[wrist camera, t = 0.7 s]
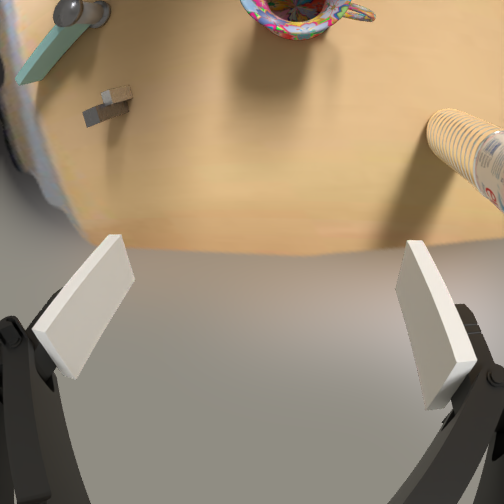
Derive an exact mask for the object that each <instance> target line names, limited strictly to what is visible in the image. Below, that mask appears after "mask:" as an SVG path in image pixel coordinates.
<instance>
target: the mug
mask: <svg viewBox="0 0 504 504" xmlns="http://www.w3.org/2000/svg"><path fill="white" fill-rule="evenodd" d="M240 1H241V3H242V5H243V7H244V9H245V10H246V11H247V12H248V14H249V15H250V16H251V17H252V18H254V19H255V20H256V21H257V22H259V23H260V24H262V25H263V26H265V27H266V28H267V29H269V30H270V31H271V32H273V33H274V34H276V35H278V36H280V37H283V38H286V39H291V40H305V39H310V38H313V37H316V36H318V35H319V34H321V33H323V32H324V31H325V30H326V29H327V28H328V27H330V26H332V25H333V24H335V23H336V22H337V21H338V20H339V19H341V18H342V17H345V18H349V19H354V20H359V21H366V22H372V21H374V20H375V18H376V15H375V13H374V12H373V11H371V10H369V9H367V8H365V7H363V6H360V5H357V4H354V3H351V0H240ZM347 9H348V10H352V11H356V12H358V13H361V14H357V13H352V12H347Z"/></svg>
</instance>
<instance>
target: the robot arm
mask: <svg viewBox="0 0 504 504" xmlns="http://www.w3.org/2000/svg"><path fill="white" fill-rule="evenodd" d="M134 281H135V277H134V274H133V271H132V268H131V265H130V262H129V259H128V255H127V252H126V249H125V245H124V242H123V239H122V235H108V236H107V237H106V238H105V239H104V240H103V241H102V243H101V244H100V245H99V246H98V247H97V248H96V249H95V251H94V252H93V253H92V254H91V255H90V256H89V257H88V259H87V260H86V261H85V262H84V263H83V264H82V266H81V267H80V268H79V269H78V270H77V272H76V273H75V274H74V275H73V276H72V278H71V279H70V280H69V281H68V282H67V284H66V285H65V287H62V288H61V289H60V290H58V291H57V292H56V293H54V294H53V295H52V297H51V298H50V299H49V300H48V302H47V304H45V306H44V307H43V308H42V310H41V311H40V312H39V313H38V315H37V316H36V317H35V319H34V320H33V321H32V323H31V324H30V325H29V327H28V328H27V329H26V331H25V330H24V328H23V327H22V325H21V323H20V321H19V320H18V318H17V317H15V316H8V317H5V318H4V319H2V320H1V321H0V504H14V490H15V494H16V498H17V504H91V503H90V501H89V498H88V495H87V492H86V490H85V487H84V484H83V481H82V478H81V475H80V472H79V469H78V466H77V463H76V459H75V456H74V452H73V449H72V445H71V441H70V438H69V434H68V430H67V426H66V422H65V418H64V413H63V409H62V404H61V399H60V394H59V388H58V383H57V378H56V375H55V373H54V370H55V368H56V367H57V368H58V369H59V371H60V372H61V373H62V375H63V376H66V377H70V378H73V379H77V377H78V375H79V374H80V372H81V370H82V368H83V366H84V365H85V363H86V361H87V359H88V357H89V356H90V354H91V352H92V350H93V348H94V347H95V345H96V343H97V341H98V340H99V338H100V336H101V335H102V333H103V331H104V330H105V328H106V326H107V325H108V323H109V321H110V320H111V318H112V316H113V315H114V313H115V311H116V310H117V308H118V306H119V305H120V303H121V302H122V300H123V298H124V297H125V295H126V294H127V292H128V290H129V289H130V287H131V286H132V284H133V283H134ZM395 290H396V293H397V296H398V300H399V303H400V306H401V310H402V313H403V317H404V320H405V324H406V327H407V331H408V335H409V339H410V342H411V346H412V350H413V354H414V358H415V363H416V366H417V371H418V376H419V380H420V385H421V389H422V394H423V399H424V404H425V410H433V409H442V408H445V406H446V405H447V404H448V402H449V401H450V400H451V402H452V406H453V409H452V411H451V412H450V413H449V414H448V415H447V417H446V418H445V419H444V420H443V421H442V423H443V425H442V427H441V429H440V430H439V432H438V434H437V435H436V437H435V438H434V440H433V442H432V443H431V445H430V446H429V448H428V449H427V451H426V453H425V454H424V455H423V457H422V459H421V460H420V461H419V463H418V465H417V466H416V467H415V469H414V470H413V472H412V473H411V474H410V476H409V477H408V478H407V480H406V481H405V482H404V484H403V485H402V486H401V487H400V489H399V490H398V492H397V493H396V494H395V495H394V497H393V498H392V499H391V500H390V501H389V503H388V504H457V503H458V501H459V500H460V498H461V496H462V494H463V493H464V491H465V489H466V488H467V486H468V484H469V482H470V480H471V479H472V477H473V475H474V473H475V471H476V469H477V467H478V465H479V463H480V461H481V459H482V457H483V455H484V453H485V451H486V449H487V447H488V444H489V447H488V451H487V455H486V460H485V464H484V468H483V472H482V475H481V479H480V483H479V486H478V490H477V493H476V496H475V499H474V502H473V504H504V368H503V367H502V366H500V365H498V364H495V363H494V361H493V358H492V356H491V353H490V351H489V348H488V346H487V344H486V341H485V339H484V337H483V334H481V330H480V327H479V325H477V321H476V319H475V317H474V314H473V313H472V312H471V310H470V309H469V308H468V307H467V306H466V305H465V304H454V302H453V300H452V298H451V296H450V294H449V292H448V290H447V287H446V285H445V283H444V281H443V279H442V277H441V275H440V273H439V271H438V269H437V267H436V265H435V263H434V261H433V260H432V258H431V256H430V254H429V252H428V250H427V248H426V246H425V244H424V243H423V241H422V240H407V242H406V247H405V251H404V256H403V260H402V264H401V269H400V273H399V277H398V281H397V285H396V289H395Z"/></svg>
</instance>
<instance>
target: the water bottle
mask: <svg viewBox="0 0 504 504" xmlns="http://www.w3.org/2000/svg"><path fill="white" fill-rule="evenodd" d="M426 138H427V142H428V145H429V147H430V149H431V150H432V152H433V153H434V154H435V155H436V156H437V157H438V158H439V159H440V160H442V161H443V162H444V163H445V164H447V165H448V166H449V167H450V168H452V169H453V170H454V171H455V172H456V173H458V174H459V175H460V176H461V177H462V178H464V179H465V180H466V181H467V182H468V183H469V184H471V185H472V186H473V187H474V188H475V189H476V190H477V191H478V192H479V193H480V194H482V195H483V196H484V197H486V198H487V199H489V200H490V201H491V202H492V203H493V204H494V205H495V206H496V207H497V208H498V209H499V210H501V211H502V212H503V213H504V129H503V128H501V127H499V126H496V125H494V124H492V123H490V122H487V121H485V120H482V119H480V118H478V117H475V116H473V115H470V114H467V113H465V112H462V111H460V110H456V109H451V108H446V109H441V110H439V111H437V112H436V113H434V114H433V115H432V117H431V118H430V120H429V122H428V124H427V128H426Z"/></svg>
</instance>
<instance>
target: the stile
mask: <svg viewBox="0 0 504 504" xmlns="http://www.w3.org/2000/svg"><path fill="white" fill-rule="evenodd" d="M101 95H102V99H103V103H104V104H101V105H98V106H95V107H92V108H90V109H88V110H86V111H84V112H83V116H84V119H85V123H86V126H87V128H88V127H90V126H93V125H95V124H98V123H100V122H103V121H105V120H108V119H110V118H113V117H116V116H118V115H121V114H124V113H126V112H129V109H128V105H127V102H126V100H128V99H131V98H133V97H132V93H131V89H130V86H129V85H128V86H123V87H118V88H113V89H109V90H107V91H104V92H102V93H101Z"/></svg>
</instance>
